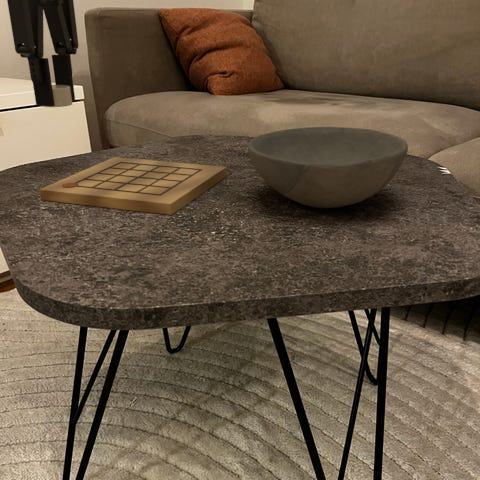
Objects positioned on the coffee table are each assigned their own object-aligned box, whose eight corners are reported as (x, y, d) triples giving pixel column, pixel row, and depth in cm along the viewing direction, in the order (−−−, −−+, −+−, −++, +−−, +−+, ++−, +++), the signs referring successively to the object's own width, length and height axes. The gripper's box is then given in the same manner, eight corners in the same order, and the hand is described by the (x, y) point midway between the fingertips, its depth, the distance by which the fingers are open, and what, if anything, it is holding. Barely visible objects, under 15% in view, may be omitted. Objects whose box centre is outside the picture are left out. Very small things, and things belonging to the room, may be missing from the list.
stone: (33, 106, 89) (30, 87, 88) (52, 101, 93) (49, 84, 92) (60, 108, 88) (58, 89, 87) (78, 103, 92) (76, 85, 91)
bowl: (429, 218, 74) (439, 154, 71) (269, 230, 71) (270, 163, 67) (364, 175, 93) (369, 122, 89) (234, 183, 89) (233, 128, 85)
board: (40, 200, 82) (39, 188, 81) (114, 166, 98) (113, 156, 98) (171, 215, 76) (170, 202, 75) (226, 176, 93) (226, 166, 92)
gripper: (10, -90, 71) (41, 113, 82) (91, -74, 86) (107, 96, 97) (-40, -87, 73) (-3, 110, 84) (47, -73, 88) (68, 93, 99)
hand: (56, 102), depth 90 cm, fingers closed on stone, 5 cm apart
